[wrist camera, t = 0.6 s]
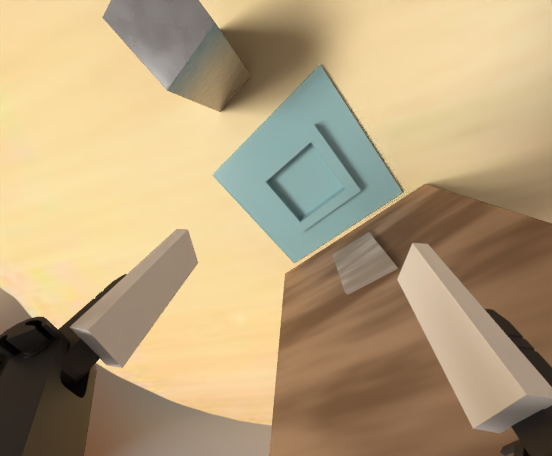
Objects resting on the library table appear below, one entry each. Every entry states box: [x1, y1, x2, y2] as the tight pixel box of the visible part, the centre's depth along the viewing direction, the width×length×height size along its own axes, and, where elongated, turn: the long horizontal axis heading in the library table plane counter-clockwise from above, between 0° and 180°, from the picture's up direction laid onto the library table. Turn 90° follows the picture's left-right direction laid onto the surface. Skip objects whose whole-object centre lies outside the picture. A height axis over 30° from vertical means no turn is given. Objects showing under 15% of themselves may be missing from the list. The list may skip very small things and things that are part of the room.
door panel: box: [269, 184, 552, 456], centre depth 21 cm, size 4×26×26 cm, turn 131°
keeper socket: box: [213, 65, 403, 263], centre depth 29 cm, size 20×20×2 cm
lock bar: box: [103, 0, 251, 112], centre depth 20 cm, size 6×6×12 cm
